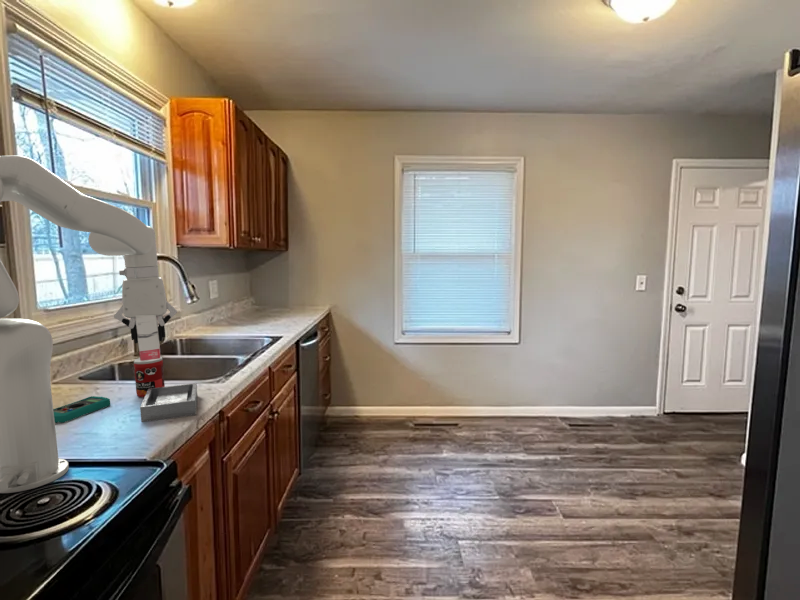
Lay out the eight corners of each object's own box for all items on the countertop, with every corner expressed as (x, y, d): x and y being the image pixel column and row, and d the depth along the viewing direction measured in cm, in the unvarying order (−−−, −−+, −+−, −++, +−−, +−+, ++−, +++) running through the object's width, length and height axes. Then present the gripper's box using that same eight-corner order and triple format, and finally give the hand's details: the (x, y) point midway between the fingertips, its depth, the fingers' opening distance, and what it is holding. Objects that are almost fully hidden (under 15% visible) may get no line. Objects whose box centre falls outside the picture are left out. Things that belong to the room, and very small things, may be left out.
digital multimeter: (41, 422, 125) (40, 411, 125) (92, 404, 139) (92, 394, 139) (61, 425, 123) (60, 414, 122) (112, 406, 137) (111, 396, 136)
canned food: (130, 396, 144) (127, 361, 143) (150, 389, 152) (147, 355, 151) (151, 398, 142) (149, 362, 141) (170, 390, 150) (168, 356, 149)
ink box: (160, 359, 124) (156, 314, 123) (139, 361, 122) (134, 316, 120) (160, 352, 132) (156, 310, 130) (140, 354, 130) (136, 311, 128)
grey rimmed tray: (195, 414, 127) (194, 400, 127) (141, 422, 122) (140, 407, 122) (197, 395, 144) (196, 383, 143) (149, 401, 139) (148, 388, 138)
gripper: (101, 276, 117) (109, 347, 120) (177, 272, 124) (183, 340, 126) (107, 274, 124) (114, 341, 127) (178, 270, 131) (184, 335, 133)
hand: (149, 340), depth 126 cm, fingers closed on ink box, 5 cm apart
